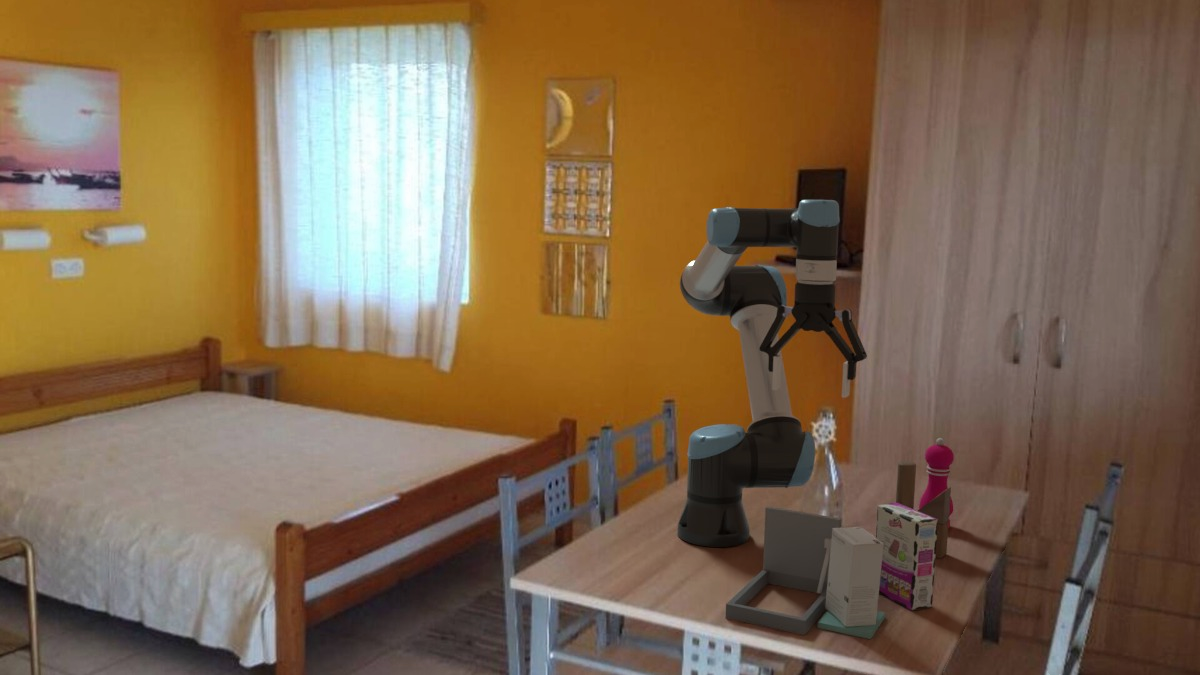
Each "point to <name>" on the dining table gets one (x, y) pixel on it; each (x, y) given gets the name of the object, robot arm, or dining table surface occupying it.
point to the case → (789, 567)
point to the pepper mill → (937, 472)
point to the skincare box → (854, 576)
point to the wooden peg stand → (934, 508)
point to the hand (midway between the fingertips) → (810, 392)
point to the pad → (835, 625)
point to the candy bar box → (907, 555)
